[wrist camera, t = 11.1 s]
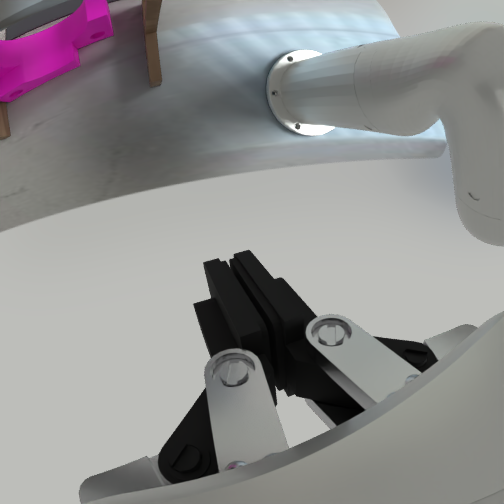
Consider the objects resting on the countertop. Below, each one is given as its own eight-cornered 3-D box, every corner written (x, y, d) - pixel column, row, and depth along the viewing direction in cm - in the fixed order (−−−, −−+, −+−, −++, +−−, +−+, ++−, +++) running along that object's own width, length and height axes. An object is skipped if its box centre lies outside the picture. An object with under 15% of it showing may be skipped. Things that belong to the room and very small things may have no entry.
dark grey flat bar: (136, -18, 20) (136, -19, 20) (137, -4, 21) (137, -5, 21) (7, 27, 16) (6, 27, 15) (7, 42, 17) (6, 42, 17)
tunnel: (151, 2, 23) (166, -85, 7) (160, 85, 28) (176, 42, 13) (-4, 57, 17) (-84, 31, 2) (3, 139, 23) (-87, 163, 7)
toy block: (10, 102, 21) (-17, 99, 15) (4, 62, 18) (-22, 52, 12) (117, 52, 25) (110, 34, 18) (109, 12, 22) (103, -12, 15)
